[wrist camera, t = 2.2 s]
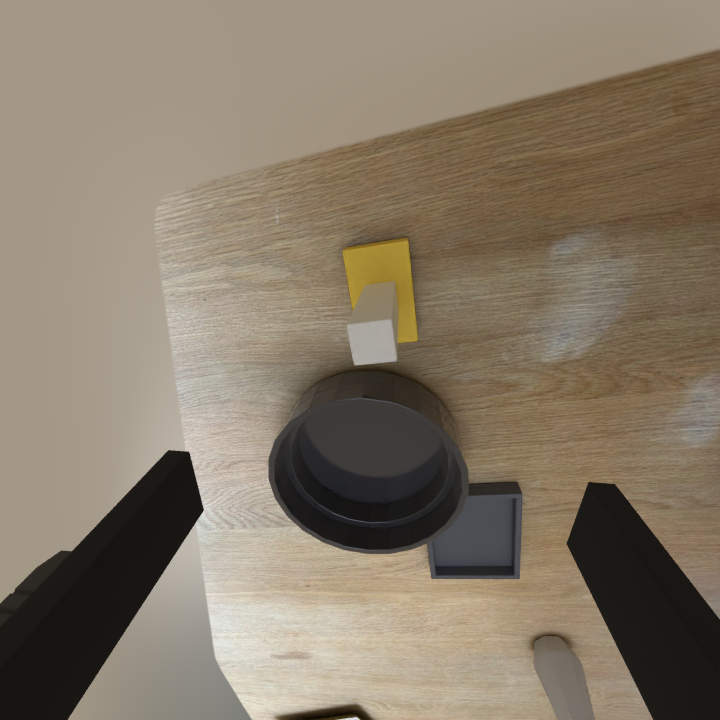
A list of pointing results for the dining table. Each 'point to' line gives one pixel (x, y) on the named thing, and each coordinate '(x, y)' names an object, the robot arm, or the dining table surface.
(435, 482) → the bowl
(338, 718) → the plate
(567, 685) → the salt shaker
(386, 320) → the sponge brush
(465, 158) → the dining table surface
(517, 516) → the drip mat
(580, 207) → the dining table surface
